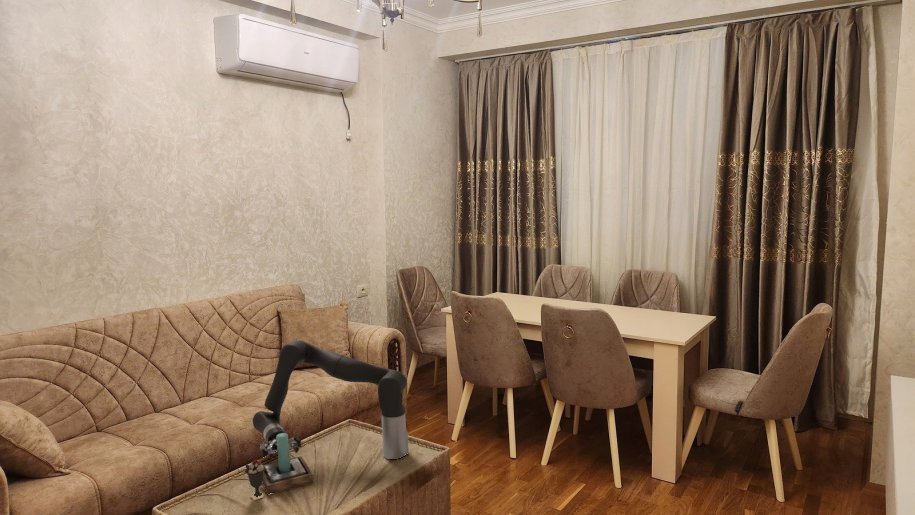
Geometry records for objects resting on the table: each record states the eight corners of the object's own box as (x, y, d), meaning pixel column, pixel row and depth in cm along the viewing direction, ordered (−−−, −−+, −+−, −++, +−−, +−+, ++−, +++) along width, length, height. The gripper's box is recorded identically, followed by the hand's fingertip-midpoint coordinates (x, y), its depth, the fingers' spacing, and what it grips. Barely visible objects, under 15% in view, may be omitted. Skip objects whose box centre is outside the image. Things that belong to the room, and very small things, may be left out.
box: (302, 464, 241) (301, 456, 240) (313, 483, 227) (312, 474, 226) (259, 475, 233) (258, 466, 233) (268, 495, 219) (267, 485, 219)
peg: (289, 472, 233) (286, 432, 230) (292, 477, 229) (288, 436, 227) (278, 475, 231) (275, 434, 228) (281, 480, 227) (277, 438, 225)
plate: (297, 465, 238) (297, 458, 237) (306, 479, 227) (305, 471, 227) (265, 473, 232) (264, 466, 232) (272, 488, 222) (271, 480, 221)
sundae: (271, 494, 220) (268, 454, 217) (256, 503, 214) (252, 462, 212) (259, 489, 223) (255, 450, 221) (243, 498, 218) (239, 457, 215)
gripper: (255, 431, 237) (263, 448, 223) (293, 422, 243) (303, 438, 229) (256, 449, 238) (265, 467, 224) (294, 441, 245) (305, 458, 231)
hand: (284, 453), depth 227 cm, fingers open, 8 cm apart
